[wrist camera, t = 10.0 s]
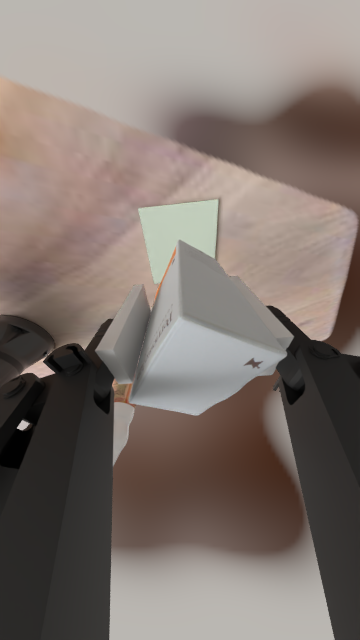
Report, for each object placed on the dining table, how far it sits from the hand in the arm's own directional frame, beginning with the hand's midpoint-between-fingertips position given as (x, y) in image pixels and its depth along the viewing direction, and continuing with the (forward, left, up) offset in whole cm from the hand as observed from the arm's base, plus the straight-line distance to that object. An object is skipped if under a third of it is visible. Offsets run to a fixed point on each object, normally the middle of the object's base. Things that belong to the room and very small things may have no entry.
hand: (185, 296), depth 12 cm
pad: (0, 0, -20) cm, 20 cm away
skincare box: (0, 0, -5) cm, 5 cm away
